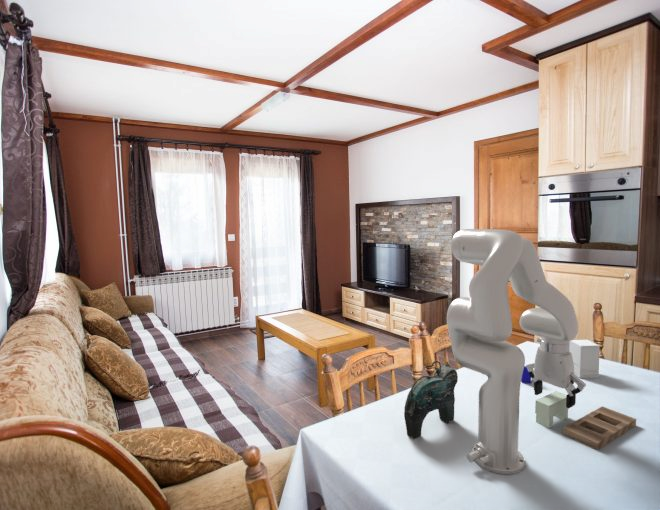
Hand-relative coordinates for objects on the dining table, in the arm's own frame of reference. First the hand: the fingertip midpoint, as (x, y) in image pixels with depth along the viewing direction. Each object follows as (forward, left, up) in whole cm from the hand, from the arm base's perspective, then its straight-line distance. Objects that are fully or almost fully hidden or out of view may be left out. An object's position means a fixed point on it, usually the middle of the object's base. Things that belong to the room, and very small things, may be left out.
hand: (553, 399), depth 118 cm
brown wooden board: (+5, -11, -6) cm, 13 cm away
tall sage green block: (-1, 0, -6) cm, 6 cm away
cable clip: (+20, +24, -7) cm, 32 cm away
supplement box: (+41, +12, -6) cm, 43 cm away
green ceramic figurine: (-34, +17, -6) cm, 38 cm away
